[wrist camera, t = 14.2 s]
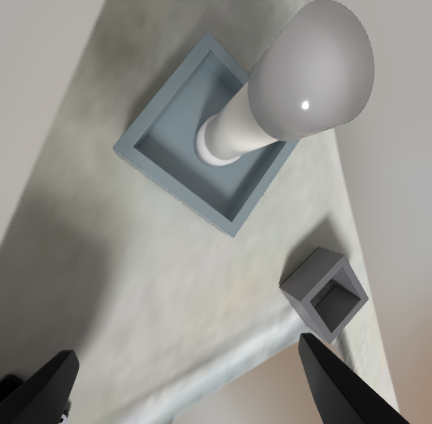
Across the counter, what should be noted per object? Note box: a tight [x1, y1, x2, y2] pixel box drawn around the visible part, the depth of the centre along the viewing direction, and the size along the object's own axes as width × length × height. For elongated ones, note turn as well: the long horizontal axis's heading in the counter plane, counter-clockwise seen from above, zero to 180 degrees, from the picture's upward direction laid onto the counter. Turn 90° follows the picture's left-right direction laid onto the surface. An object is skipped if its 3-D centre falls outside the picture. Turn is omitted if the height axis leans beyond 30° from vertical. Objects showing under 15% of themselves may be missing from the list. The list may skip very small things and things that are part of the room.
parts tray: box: [112, 30, 300, 238], centre depth 19 cm, size 12×12×3 cm
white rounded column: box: [193, 0, 374, 167], centre depth 13 cm, size 4×4×13 cm
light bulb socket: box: [279, 247, 369, 344], centre depth 25 cm, size 7×7×4 cm
